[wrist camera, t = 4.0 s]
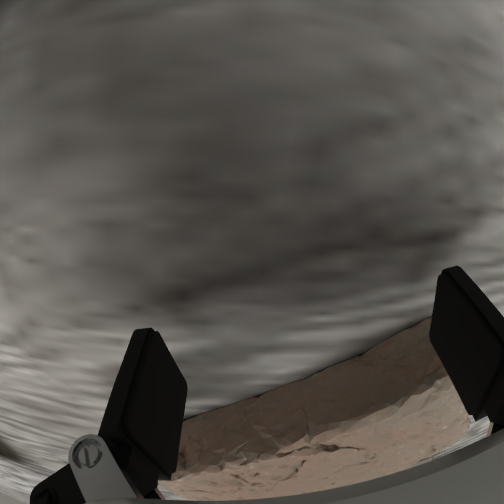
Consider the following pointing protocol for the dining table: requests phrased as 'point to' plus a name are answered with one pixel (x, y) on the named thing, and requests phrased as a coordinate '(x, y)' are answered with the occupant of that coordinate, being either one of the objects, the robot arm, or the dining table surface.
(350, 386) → the brick
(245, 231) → the dining table surface
